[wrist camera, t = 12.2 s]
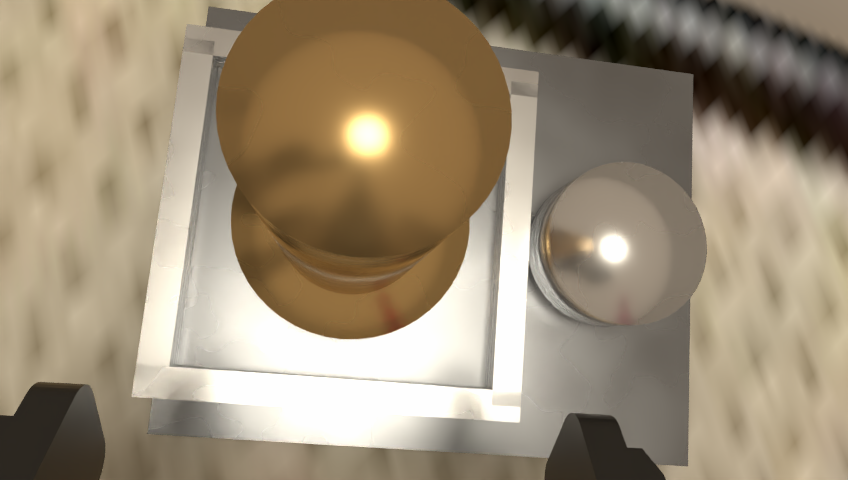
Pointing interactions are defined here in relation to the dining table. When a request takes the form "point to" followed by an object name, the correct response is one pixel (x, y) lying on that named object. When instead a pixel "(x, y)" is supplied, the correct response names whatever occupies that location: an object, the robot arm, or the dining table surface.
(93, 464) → the robot arm
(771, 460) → the dining table surface
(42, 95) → the dining table surface
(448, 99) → the brass knob
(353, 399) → the carrier
